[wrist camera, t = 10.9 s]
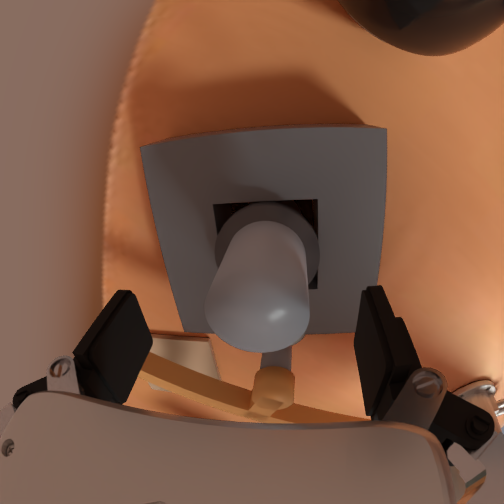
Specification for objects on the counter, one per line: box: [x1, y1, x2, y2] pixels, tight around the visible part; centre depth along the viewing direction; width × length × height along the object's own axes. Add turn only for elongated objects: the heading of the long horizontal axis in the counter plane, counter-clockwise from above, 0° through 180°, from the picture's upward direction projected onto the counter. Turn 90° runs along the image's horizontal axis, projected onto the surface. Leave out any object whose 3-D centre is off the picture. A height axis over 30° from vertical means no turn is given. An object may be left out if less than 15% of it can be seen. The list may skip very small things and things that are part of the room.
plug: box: [204, 200, 320, 353], centre depth 17 cm, size 6×6×11 cm
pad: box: [148, 334, 221, 392], centre depth 31 cm, size 10×10×1 cm
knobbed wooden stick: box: [138, 352, 371, 423], centre depth 20 cm, size 5×26×2 cm, turn 68°
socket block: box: [140, 124, 387, 371], centre depth 20 cm, size 14×20×6 cm
